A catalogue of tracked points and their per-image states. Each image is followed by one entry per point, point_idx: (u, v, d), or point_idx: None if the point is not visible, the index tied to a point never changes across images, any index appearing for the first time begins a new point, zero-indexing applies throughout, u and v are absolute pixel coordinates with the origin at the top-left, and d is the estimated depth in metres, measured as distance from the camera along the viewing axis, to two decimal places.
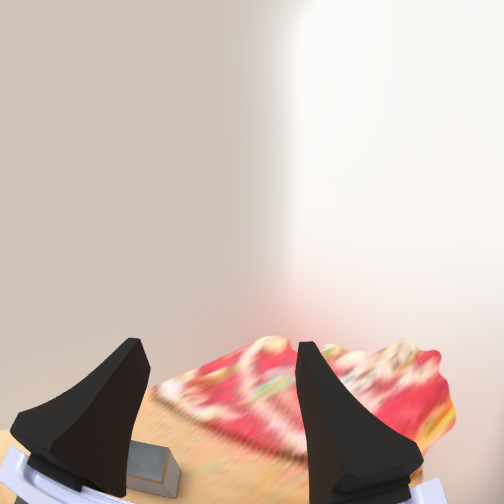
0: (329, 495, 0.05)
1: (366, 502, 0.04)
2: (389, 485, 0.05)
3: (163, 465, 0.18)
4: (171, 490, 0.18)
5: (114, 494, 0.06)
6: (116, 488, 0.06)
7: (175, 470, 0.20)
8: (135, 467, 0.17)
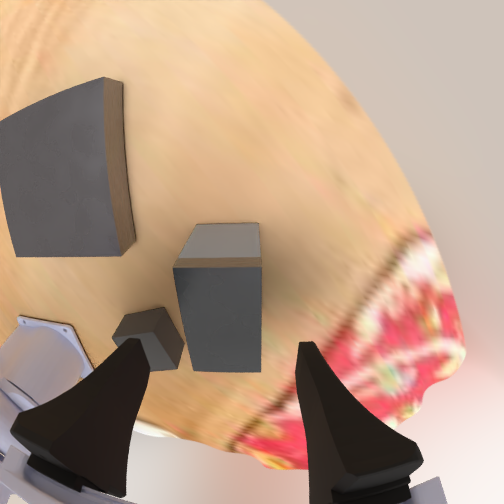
0: (329, 495, 0.05)
1: (366, 502, 0.04)
2: (389, 485, 0.05)
3: (222, 371, 0.15)
4: None
5: (114, 494, 0.06)
6: (116, 488, 0.06)
7: None
8: (202, 340, 0.14)
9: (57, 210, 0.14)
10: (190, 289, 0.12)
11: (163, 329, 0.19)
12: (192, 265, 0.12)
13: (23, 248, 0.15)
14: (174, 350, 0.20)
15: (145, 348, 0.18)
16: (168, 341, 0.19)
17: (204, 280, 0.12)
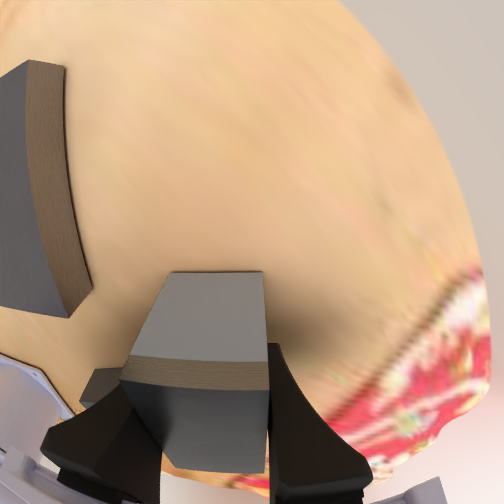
0: (274, 501, 0.05)
1: None
2: (339, 497, 0.05)
3: (213, 471, 0.09)
4: None
5: None
6: (152, 498, 0.06)
7: None
8: (181, 449, 0.08)
9: None
10: (152, 406, 0.07)
11: None
12: (149, 377, 0.06)
13: None
14: None
15: None
16: None
17: (172, 399, 0.06)
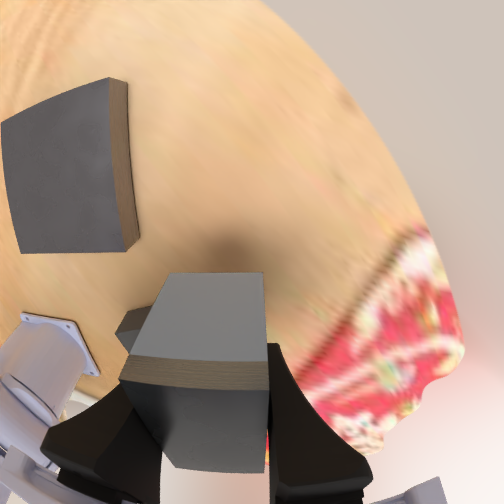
0: (274, 501, 0.05)
1: None
2: (339, 498, 0.05)
3: (212, 471, 0.09)
4: None
5: None
6: (151, 498, 0.06)
7: None
8: (181, 449, 0.08)
9: (62, 207, 0.15)
10: (152, 405, 0.07)
11: None
12: (150, 377, 0.06)
13: (28, 245, 0.16)
14: None
15: None
16: None
17: (172, 399, 0.06)
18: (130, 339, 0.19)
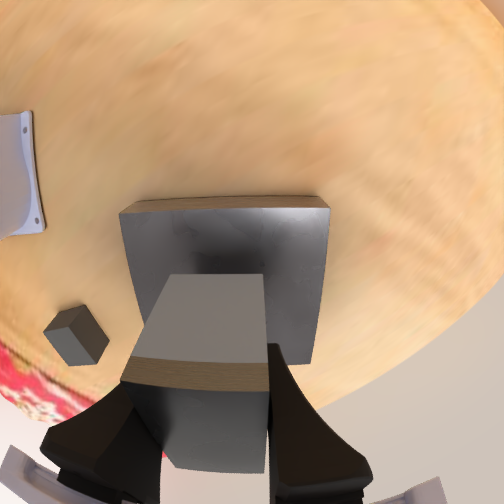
0: (274, 501, 0.05)
1: None
2: (338, 497, 0.05)
3: (213, 471, 0.09)
4: None
5: None
6: (152, 498, 0.06)
7: None
8: (181, 449, 0.08)
9: None
10: (153, 406, 0.07)
11: None
12: (151, 379, 0.06)
13: (134, 238, 0.14)
14: None
15: (75, 352, 0.18)
16: None
17: (173, 400, 0.06)
18: (70, 338, 0.17)
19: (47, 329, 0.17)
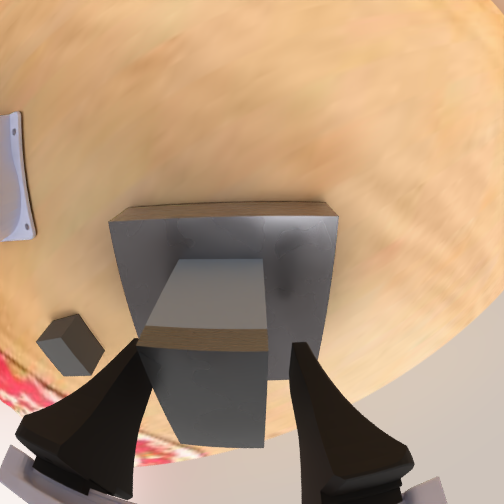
0: (318, 497, 0.05)
1: None
2: (380, 488, 0.05)
3: (215, 446, 0.10)
4: None
5: (120, 496, 0.06)
6: (123, 490, 0.06)
7: None
8: (187, 420, 0.09)
9: None
10: (164, 372, 0.08)
11: None
12: (164, 343, 0.08)
13: (125, 248, 0.13)
14: None
15: (69, 363, 0.16)
16: None
17: (183, 363, 0.08)
18: (63, 349, 0.16)
19: (40, 339, 0.16)
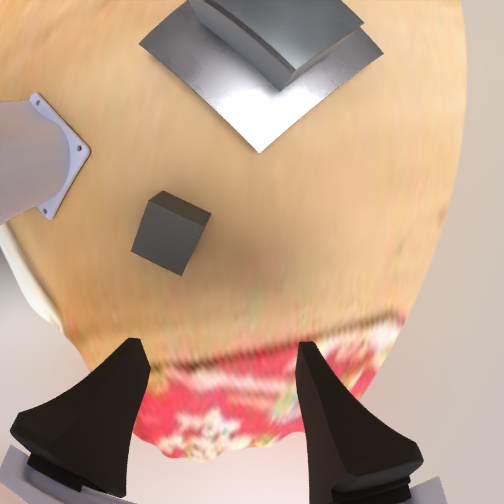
0: (329, 495, 0.05)
1: (366, 502, 0.04)
2: (389, 485, 0.05)
3: (326, 44, 0.08)
4: (289, 82, 0.12)
5: (114, 494, 0.06)
6: (116, 488, 0.06)
7: (325, 55, 0.11)
8: (264, 13, 0.07)
9: (246, 64, 0.13)
10: None
11: None
12: None
13: (160, 46, 0.12)
14: None
15: (174, 236, 0.17)
16: None
17: None
18: (159, 218, 0.17)
19: None
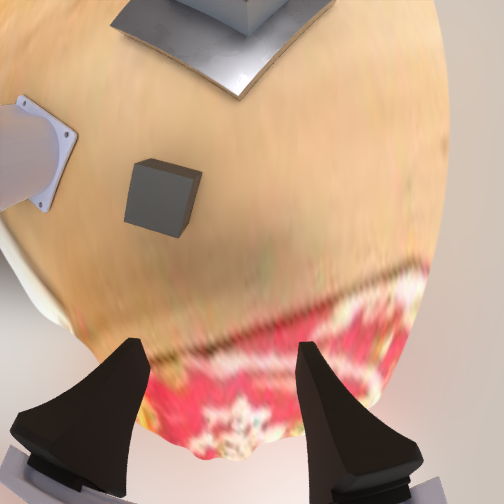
0: (329, 495, 0.05)
1: (366, 502, 0.04)
2: (389, 485, 0.05)
3: None
4: (252, 21, 0.10)
5: (114, 494, 0.06)
6: (116, 488, 0.06)
7: None
8: None
9: (212, 20, 0.12)
10: None
11: (194, 188, 0.17)
12: None
13: (129, 22, 0.11)
14: (185, 218, 0.18)
15: (164, 195, 0.16)
16: (189, 204, 0.17)
17: None
18: (147, 180, 0.16)
19: None
